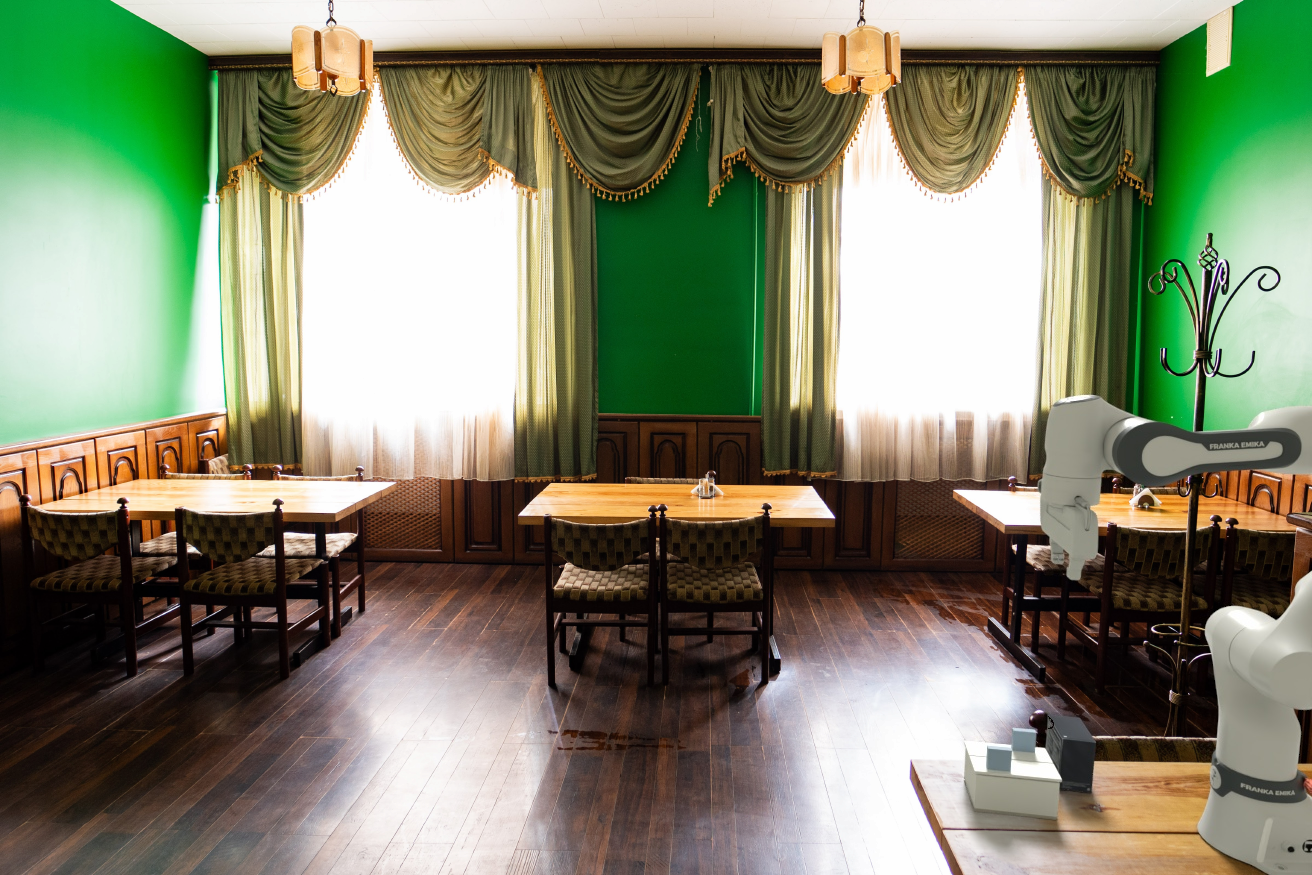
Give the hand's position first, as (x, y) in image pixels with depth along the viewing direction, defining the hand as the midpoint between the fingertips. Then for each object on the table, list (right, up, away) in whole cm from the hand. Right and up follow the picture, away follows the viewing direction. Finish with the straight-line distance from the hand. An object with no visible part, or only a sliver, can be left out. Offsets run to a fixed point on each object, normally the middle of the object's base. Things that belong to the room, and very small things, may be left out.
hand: (1064, 570), depth 139 cm
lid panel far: (-4, -37, +14) cm, 40 cm away
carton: (-4, -45, +13) cm, 47 cm away
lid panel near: (-5, -38, +9) cm, 39 cm away
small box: (+11, -44, +20) cm, 49 cm away
